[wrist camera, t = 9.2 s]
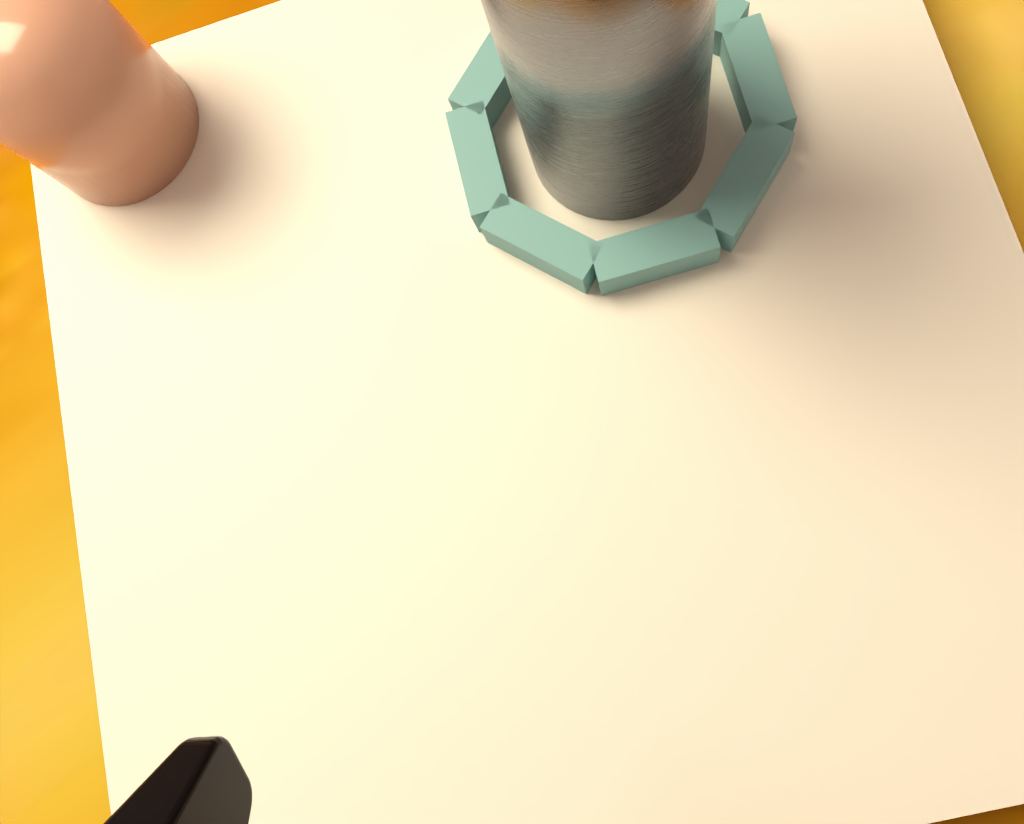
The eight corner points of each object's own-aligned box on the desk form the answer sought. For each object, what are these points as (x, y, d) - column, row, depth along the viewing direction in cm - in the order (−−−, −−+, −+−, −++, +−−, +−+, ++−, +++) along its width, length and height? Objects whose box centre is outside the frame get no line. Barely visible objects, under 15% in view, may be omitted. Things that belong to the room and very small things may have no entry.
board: (1172, 744, 20) (1259, 770, 17) (178, 954, 23) (106, 1008, 20) (831, -132, 25) (853, -226, 22) (65, 123, 28) (-4, 69, 25)
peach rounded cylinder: (210, 179, 24) (97, 78, 20) (65, 225, 25) (-81, 138, 20) (186, 42, 25) (73, -87, 21) (47, 89, 26) (-96, -25, 21)
